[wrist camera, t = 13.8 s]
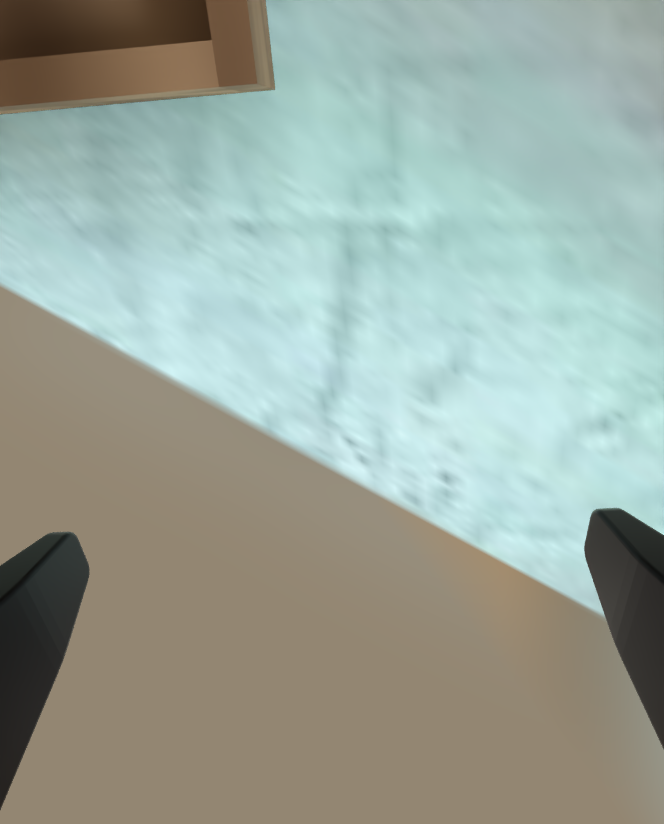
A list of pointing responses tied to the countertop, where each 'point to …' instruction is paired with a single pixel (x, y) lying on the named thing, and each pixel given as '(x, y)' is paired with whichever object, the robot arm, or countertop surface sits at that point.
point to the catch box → (129, 51)
